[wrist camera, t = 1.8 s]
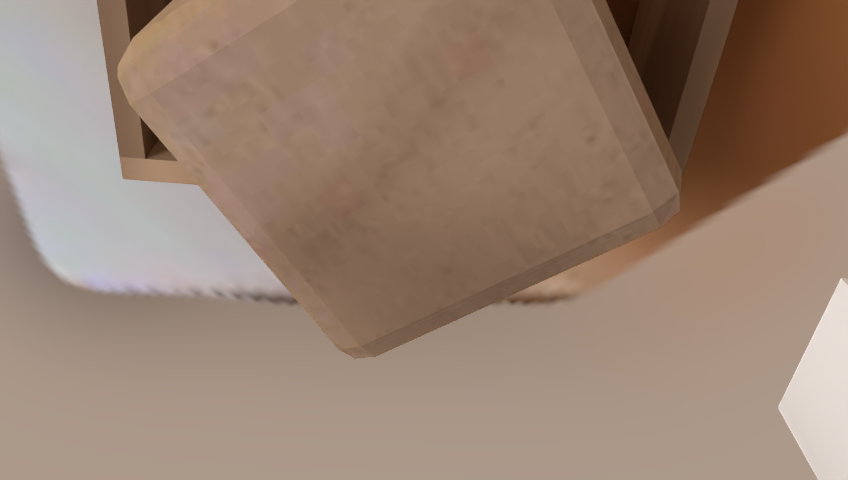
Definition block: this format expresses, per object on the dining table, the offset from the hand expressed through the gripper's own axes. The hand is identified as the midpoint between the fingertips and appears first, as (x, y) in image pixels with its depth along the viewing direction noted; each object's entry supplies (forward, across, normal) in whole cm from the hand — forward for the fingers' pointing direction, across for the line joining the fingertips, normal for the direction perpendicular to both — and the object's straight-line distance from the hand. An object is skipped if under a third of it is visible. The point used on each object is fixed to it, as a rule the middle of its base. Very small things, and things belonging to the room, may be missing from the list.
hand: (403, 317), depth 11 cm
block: (+26, 0, 0) cm, 26 cm away
